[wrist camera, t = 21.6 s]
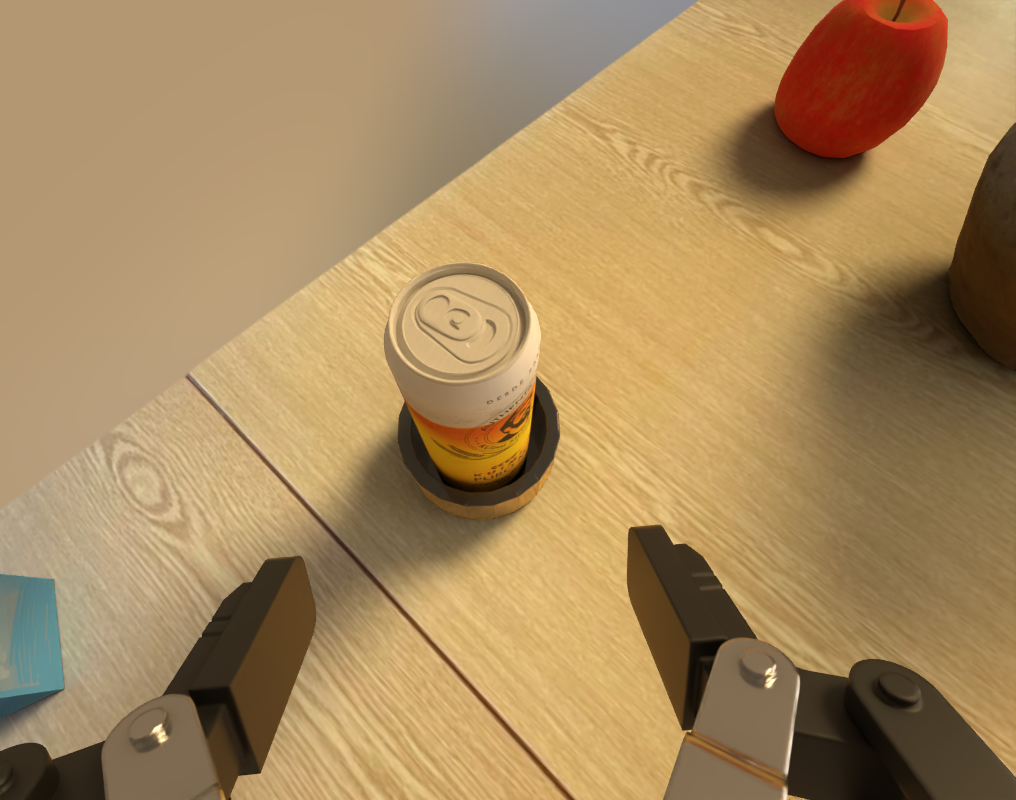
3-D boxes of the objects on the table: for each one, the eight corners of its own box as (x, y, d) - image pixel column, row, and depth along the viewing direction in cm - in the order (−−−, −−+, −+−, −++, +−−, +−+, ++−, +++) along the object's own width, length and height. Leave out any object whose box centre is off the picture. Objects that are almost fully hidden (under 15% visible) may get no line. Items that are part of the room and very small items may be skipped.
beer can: (492, 515, 30) (480, 425, 17) (413, 461, 32) (342, 338, 18) (545, 436, 32) (573, 299, 19) (468, 389, 34) (443, 230, 20)
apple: (909, 132, 45) (1020, -3, 35) (840, 191, 42) (941, 61, 32) (808, 74, 48) (884, -64, 39) (738, 125, 45) (801, -11, 36)
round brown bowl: (500, 550, 30) (499, 540, 26) (380, 466, 32) (364, 445, 29) (580, 429, 33) (589, 405, 30) (466, 359, 35) (461, 329, 32)
